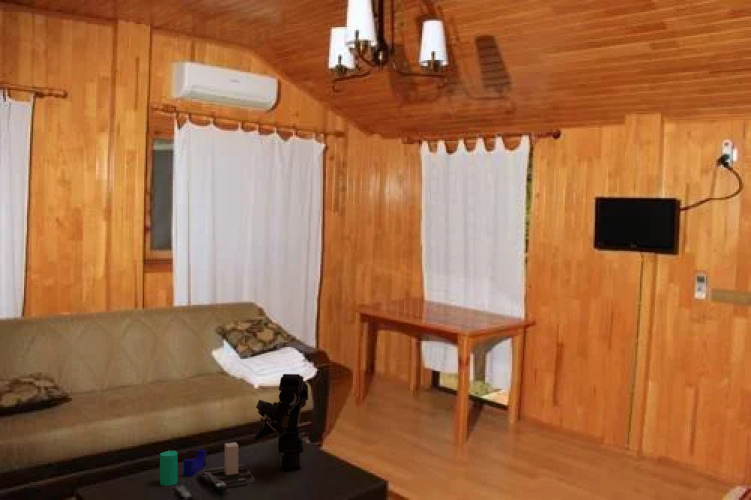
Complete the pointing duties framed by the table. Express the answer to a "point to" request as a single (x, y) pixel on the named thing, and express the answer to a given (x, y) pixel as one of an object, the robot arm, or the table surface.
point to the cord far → (223, 468)
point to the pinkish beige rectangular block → (231, 460)
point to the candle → (168, 468)
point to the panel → (235, 477)
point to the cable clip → (195, 463)
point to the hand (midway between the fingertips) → (255, 439)
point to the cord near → (238, 484)
